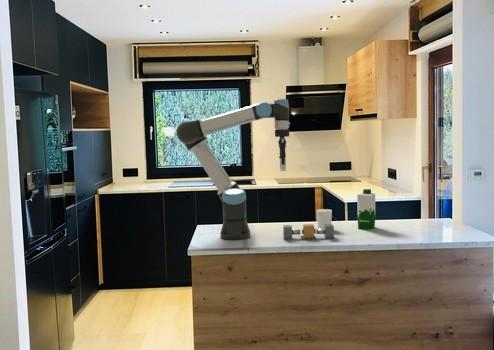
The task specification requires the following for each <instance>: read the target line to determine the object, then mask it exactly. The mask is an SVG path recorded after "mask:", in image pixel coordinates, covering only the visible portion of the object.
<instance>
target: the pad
mask: <svg viewBox="0 0 494 350" xmlns="http://www.w3.org/2000/svg"><path fill="white" fill-rule="evenodd" d="M300 239H301V240H302V241H304V240H305V241H309V240H310V241H311V240H312V239H313V240H314V239H315V240H317V238H316V235H314V238H307V239H304V237H303V235H300Z"/></svg>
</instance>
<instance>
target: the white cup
mask: <svg viewBox="0 0 494 350" xmlns="http://www.w3.org/2000/svg"><path fill="white" fill-rule="evenodd" d="M332 212H333V210H332V209H330V208H329V209H328V208H326V209H325V208H321V209H320V208H319V209H316V223H317V229H324V224H332V218H333V216H332V215H333V213H332Z"/></svg>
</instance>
